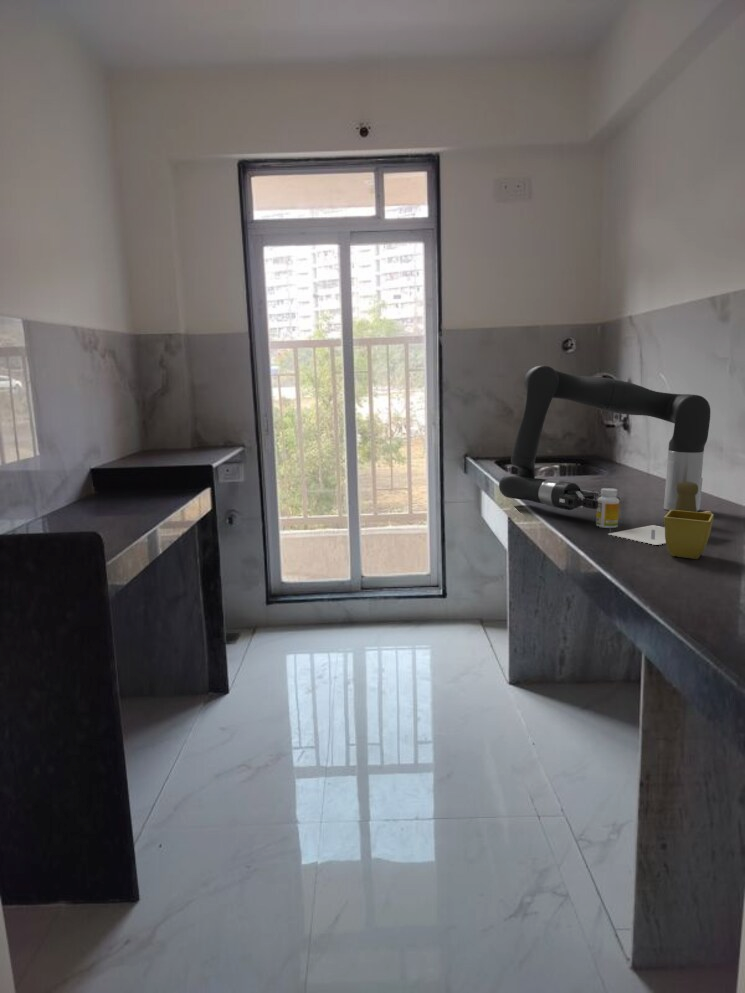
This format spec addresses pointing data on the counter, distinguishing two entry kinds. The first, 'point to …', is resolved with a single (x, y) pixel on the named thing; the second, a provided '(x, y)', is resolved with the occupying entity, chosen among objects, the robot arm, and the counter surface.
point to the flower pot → (687, 532)
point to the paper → (644, 534)
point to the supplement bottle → (608, 509)
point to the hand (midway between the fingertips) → (608, 503)
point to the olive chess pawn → (686, 496)
